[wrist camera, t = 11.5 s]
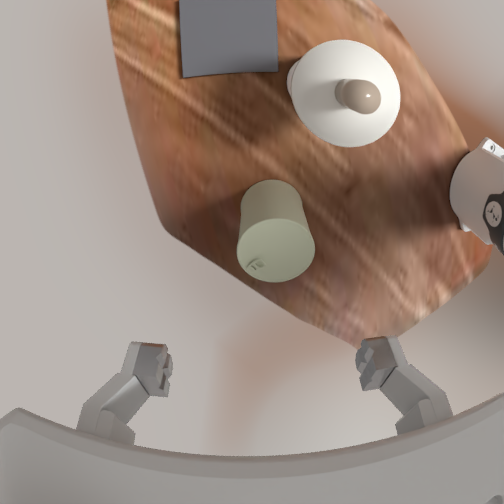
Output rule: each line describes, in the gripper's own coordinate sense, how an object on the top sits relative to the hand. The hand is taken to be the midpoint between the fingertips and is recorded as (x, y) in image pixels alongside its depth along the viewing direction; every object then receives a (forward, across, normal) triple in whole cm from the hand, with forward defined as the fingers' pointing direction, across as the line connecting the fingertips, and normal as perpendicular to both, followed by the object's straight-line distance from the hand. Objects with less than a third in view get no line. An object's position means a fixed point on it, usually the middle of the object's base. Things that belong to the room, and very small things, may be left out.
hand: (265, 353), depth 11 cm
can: (+31, -3, +9) cm, 33 cm away
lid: (+21, -9, -9) cm, 24 cm away
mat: (+31, +3, -17) cm, 35 cm away
